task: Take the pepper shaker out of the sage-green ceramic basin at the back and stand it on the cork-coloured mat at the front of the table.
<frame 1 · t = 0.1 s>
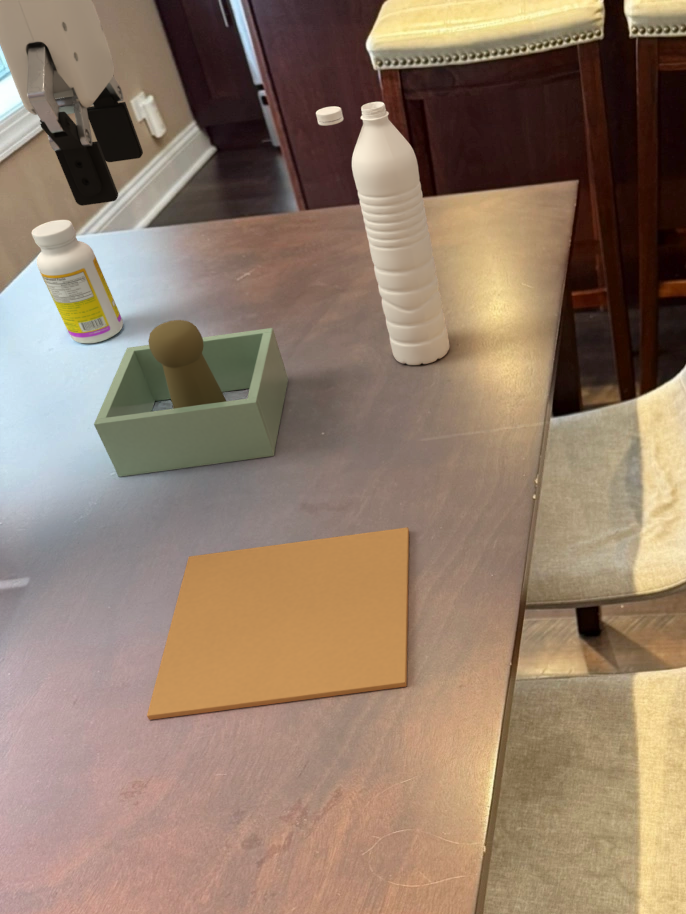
hand: (112, 179, 81), 27 cm above the table, tool pointing down, fingers open, 9 cm apart
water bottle: (412, 355, 114), on the table
supplement bottle: (99, 334, 126), on the table
mat: (289, 618, 84), on the table
basin: (207, 425, 107), on the table
pepper shaker: (208, 427, 107), resting in basin
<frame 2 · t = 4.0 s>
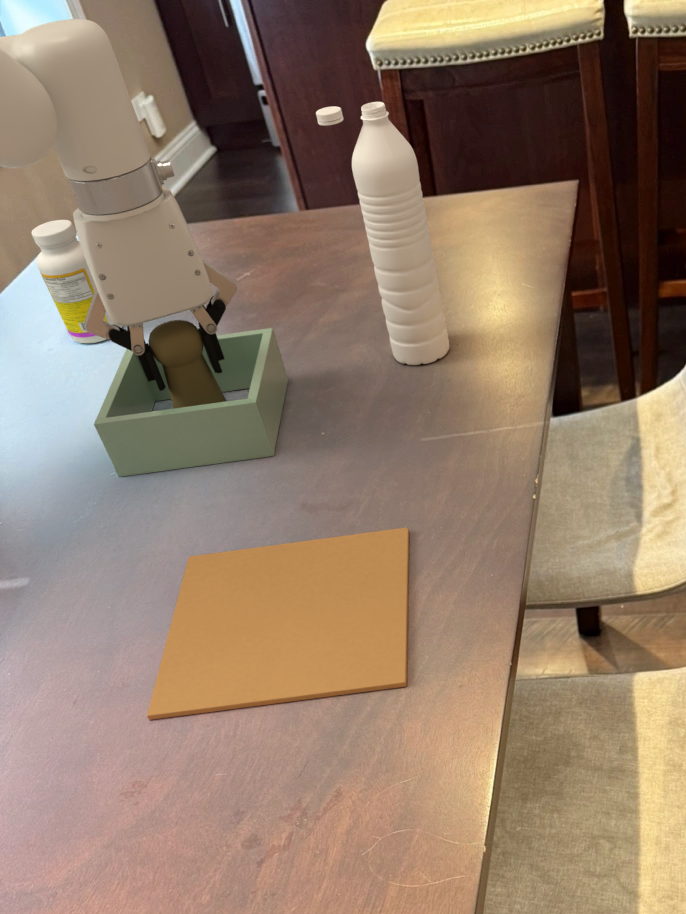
hand: (188, 374, 103), 6 cm above the table, tool pointing down, fingers closed on pepper shaker, 5 cm apart
pepper shaker: (208, 427, 107), resting in basin, touching gripper
everything else where it was.
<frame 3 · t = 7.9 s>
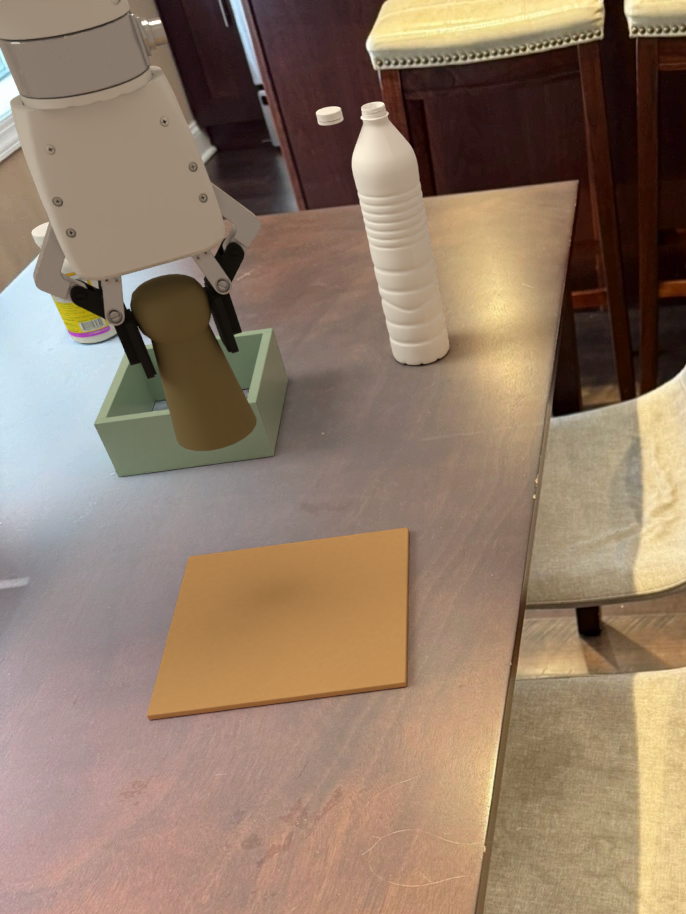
hand: (189, 355, 71), 22 cm above the table, tool pointing down, fingers closed on pepper shaker, 5 cm apart
pepper shaker: (217, 431, 75), point 15 cm above the table, touching gripper
everything else where it was.
when the fingers open (6 cm above the table, at t = 12.0 s): pepper shaker stays where it is, resting on mat.
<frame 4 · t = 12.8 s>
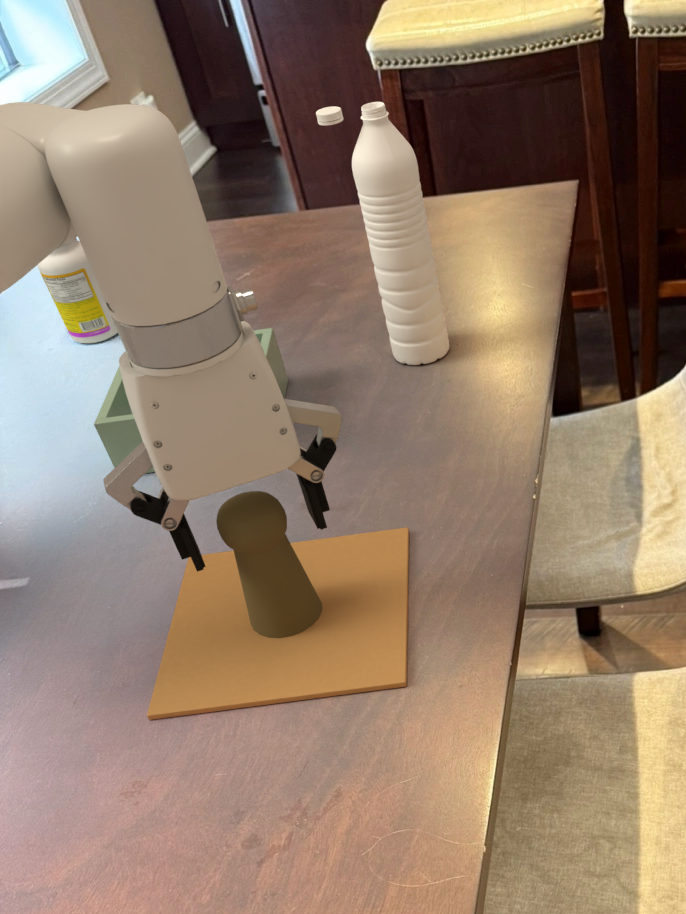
hand: (259, 540, 78), 8 cm above the table, tool pointing down, fingers open, 9 cm apart
pepper shaker: (287, 615, 83), resting on mat
everything else where it was.
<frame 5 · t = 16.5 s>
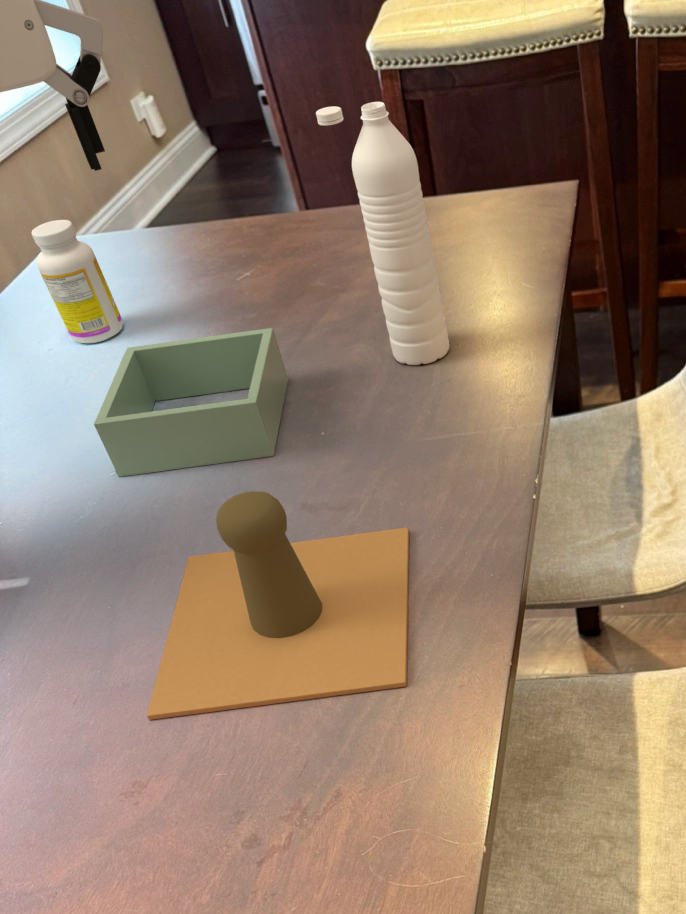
hand: (28, 181, 73), 30 cm above the table, tool pointing down, fingers open, 9 cm apart
nothing on the table moved.
at the end: pepper shaker inside the target area on the mat (0.1 cm from its centre), point 0.3 cm above the mat's base; pepper shaker tilted 0°; pepper shaker touching mat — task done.
